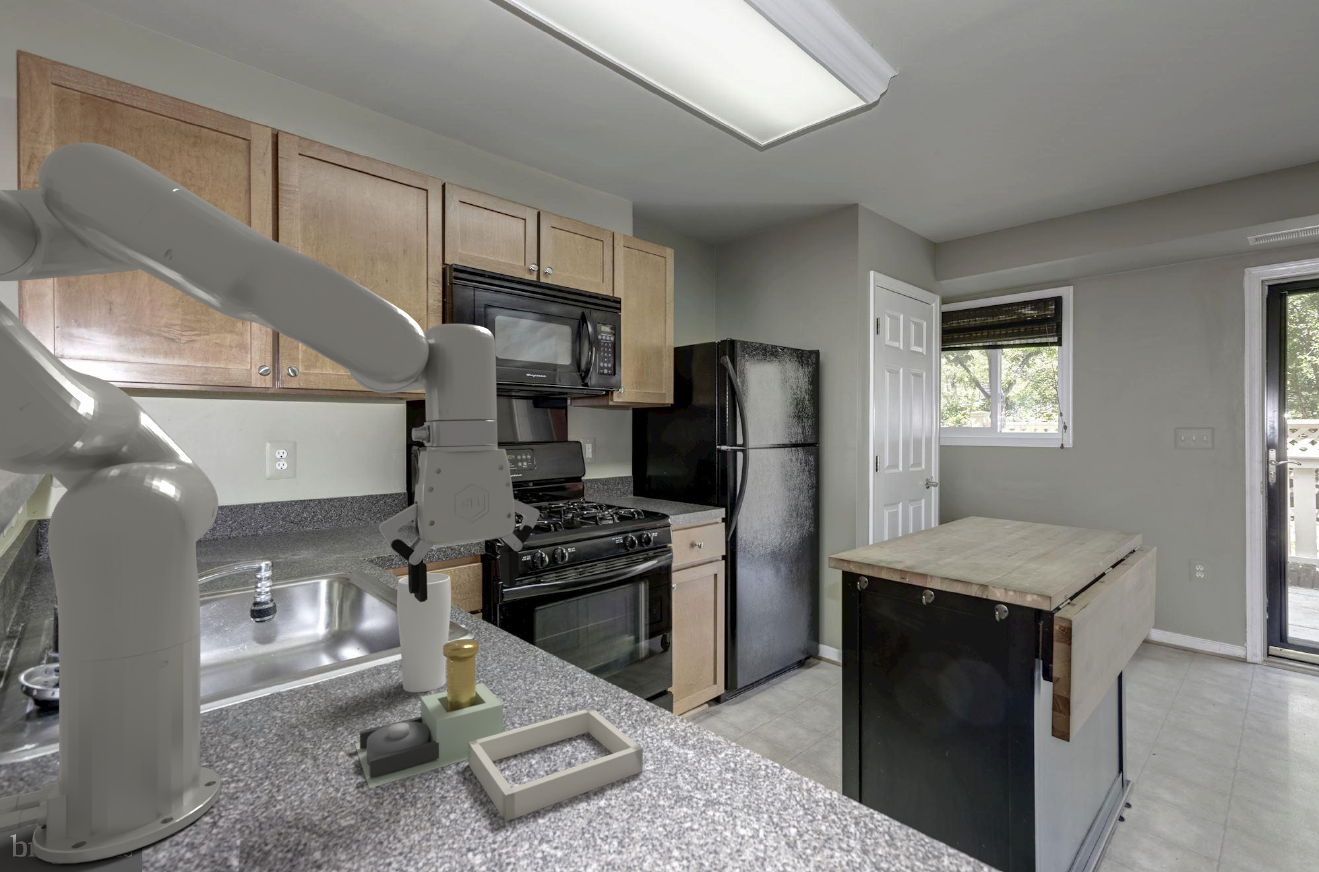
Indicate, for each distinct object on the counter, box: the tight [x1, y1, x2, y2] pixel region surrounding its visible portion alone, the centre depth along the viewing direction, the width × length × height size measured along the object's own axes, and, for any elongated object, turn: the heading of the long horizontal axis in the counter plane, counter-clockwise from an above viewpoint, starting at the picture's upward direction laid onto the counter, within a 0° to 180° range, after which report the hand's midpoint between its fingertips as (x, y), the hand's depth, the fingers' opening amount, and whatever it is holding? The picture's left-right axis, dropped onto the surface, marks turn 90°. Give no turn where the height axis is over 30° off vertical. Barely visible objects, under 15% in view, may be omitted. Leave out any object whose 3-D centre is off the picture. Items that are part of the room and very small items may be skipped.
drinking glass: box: [396, 572, 452, 693], centre depth 81 cm, size 7×7×15 cm
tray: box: [467, 707, 644, 822], centre depth 60 cm, size 14×11×3 cm
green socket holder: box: [354, 682, 504, 789], centre depth 65 cm, size 14×10×5 cm
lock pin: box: [443, 638, 480, 713], centre depth 67 cm, size 4×4×10 cm
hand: (466, 591), depth 67 cm, fingers open, 9 cm apart
